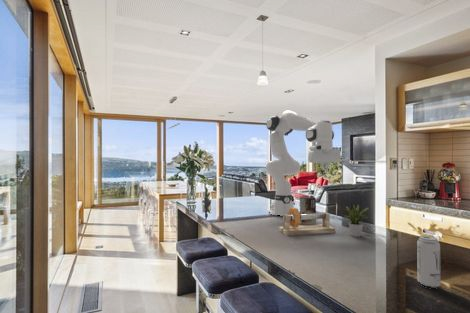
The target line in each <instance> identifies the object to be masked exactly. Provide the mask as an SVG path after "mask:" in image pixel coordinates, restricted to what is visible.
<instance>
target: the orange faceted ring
mask: <svg viewBox="0 0 470 313" xmlns="http://www.w3.org/2000/svg"><path fill="white" fill-rule="evenodd" d="M290 214H291V215H293V216H294V220H292V221H290V226H291V227H293V228H296V227H298V226H299V225H301V223H300V210H299V209H298V208H296V207H294V208H290V209H289V211H288V215H290Z"/></svg>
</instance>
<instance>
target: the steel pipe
mask: <svg viewBox="0 0 470 313" xmlns="http://www.w3.org/2000/svg"><path fill="white" fill-rule="evenodd" d="M289 216H290V221H292V220H294V216H293V215H291V214H290V215H289ZM284 217H285V216H284ZM325 218H326V215H325V213H322V212H321V213H320V212H319V213H317V212H316V214H300V220H307V219H316V220H320V219H321V220H322V219H325ZM284 220H286V218H285V219H284Z"/></svg>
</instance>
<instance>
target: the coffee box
mask: <svg viewBox="0 0 470 313" xmlns="http://www.w3.org/2000/svg"><path fill="white" fill-rule="evenodd" d="M316 200H317V198H316V197H315V196H299V213H300V214H316V213H317V206H316V205H317V202H316ZM312 224H317V219H307V220H300V225H312Z"/></svg>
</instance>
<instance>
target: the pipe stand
mask: <svg viewBox="0 0 470 313" xmlns="http://www.w3.org/2000/svg"><path fill="white" fill-rule="evenodd" d="M321 213H325V215H326V218H325V219H321V220H322V221H321V222H322V223H316V224H299V226H298V227H296V228H293V227H291V226H290V216H289V215H287V214H283V216H282V226H281V225H280V226H278V231H279V232H281V233H282V234H284V235H285V236H287V237H289V236H290V237H291V236H305V235H319V234H331V233H332V234H333V233H336V228H335V227H332V226H331V224H330V218H331V217H330V213H329V212H321ZM284 216H285V217H284ZM285 218H286V220H284V219H285Z"/></svg>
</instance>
